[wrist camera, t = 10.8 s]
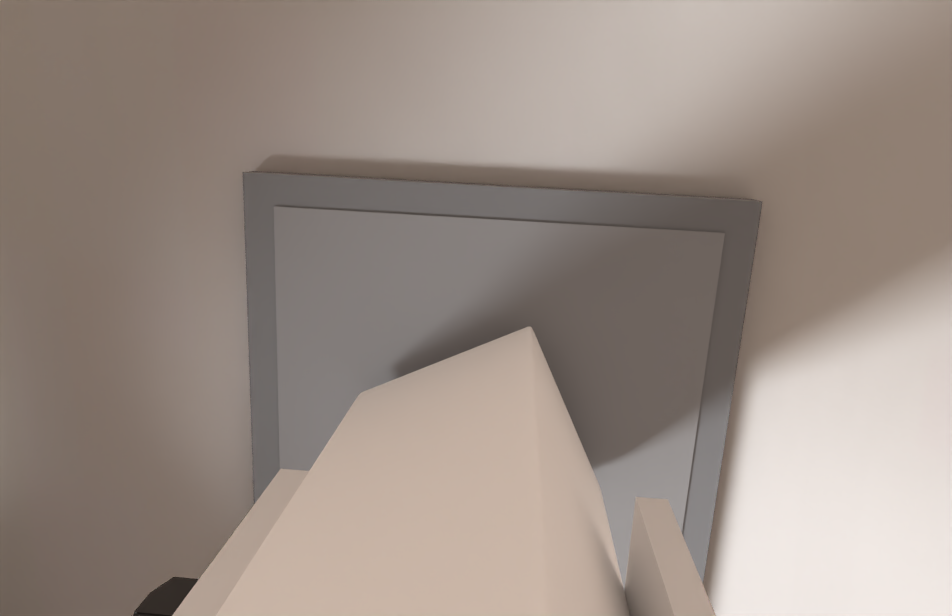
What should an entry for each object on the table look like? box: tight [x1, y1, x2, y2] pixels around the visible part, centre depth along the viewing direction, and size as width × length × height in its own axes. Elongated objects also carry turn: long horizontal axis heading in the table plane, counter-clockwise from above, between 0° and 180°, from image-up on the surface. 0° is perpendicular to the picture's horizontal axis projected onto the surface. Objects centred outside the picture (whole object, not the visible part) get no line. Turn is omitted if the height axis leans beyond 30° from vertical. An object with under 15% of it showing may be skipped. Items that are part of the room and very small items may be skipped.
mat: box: [243, 171, 762, 589], centre depth 23 cm, size 16×16×1 cm
